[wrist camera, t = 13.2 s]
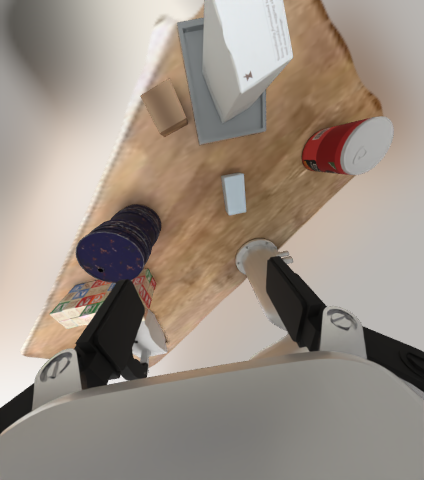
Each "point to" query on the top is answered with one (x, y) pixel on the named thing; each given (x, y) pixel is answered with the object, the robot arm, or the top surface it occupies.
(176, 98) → the walnut block
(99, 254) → the storage jar
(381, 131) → the canned food
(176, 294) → the top surface
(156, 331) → the iron
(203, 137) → the slate tray
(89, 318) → the stack of blocks
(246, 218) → the top surface
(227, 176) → the blue-grey painted block
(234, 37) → the skincare box
